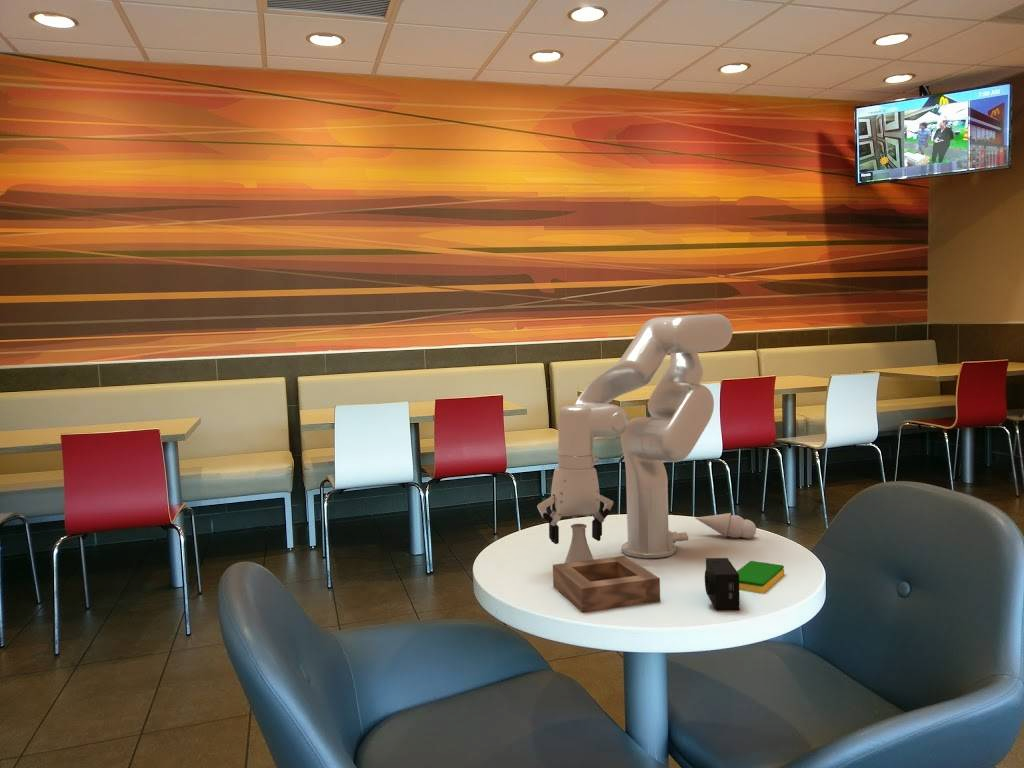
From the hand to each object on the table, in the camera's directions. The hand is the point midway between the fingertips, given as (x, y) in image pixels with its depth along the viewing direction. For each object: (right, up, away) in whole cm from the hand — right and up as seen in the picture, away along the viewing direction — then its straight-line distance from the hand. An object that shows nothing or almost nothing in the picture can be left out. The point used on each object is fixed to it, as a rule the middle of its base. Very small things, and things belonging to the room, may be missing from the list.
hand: (575, 540), depth 166 cm
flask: (+1, -7, +1) cm, 7 cm away
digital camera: (+25, -7, -21) cm, 34 cm away
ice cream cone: (+39, -4, +24) cm, 46 cm away
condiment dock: (+5, -7, -15) cm, 17 cm away
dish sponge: (+36, -7, -10) cm, 38 cm away
